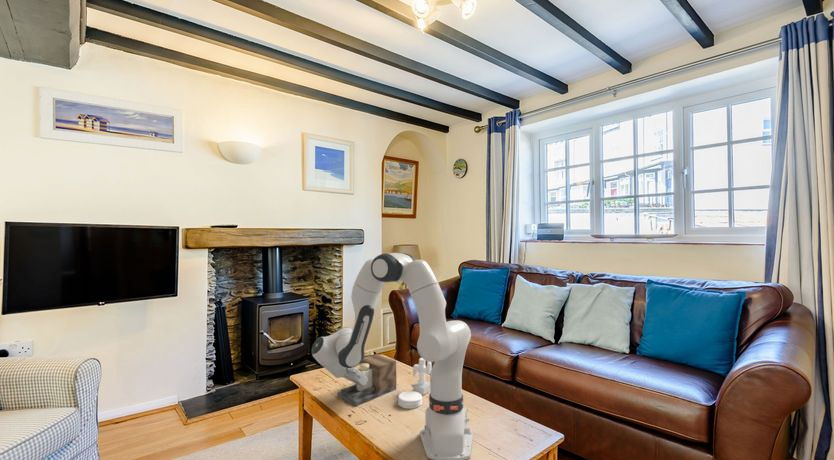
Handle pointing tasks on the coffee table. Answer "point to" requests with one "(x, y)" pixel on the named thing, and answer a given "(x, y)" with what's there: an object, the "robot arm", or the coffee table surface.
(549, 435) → the coffee table surface
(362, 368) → the knob
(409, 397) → the coaster
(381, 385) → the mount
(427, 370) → the figurine
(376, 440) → the coffee table surface
